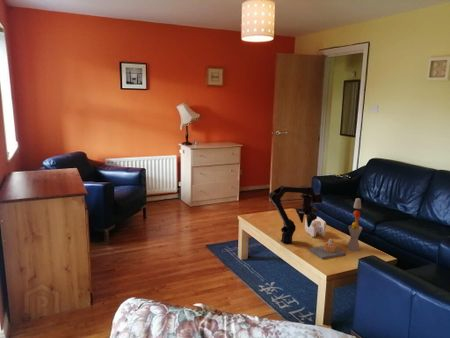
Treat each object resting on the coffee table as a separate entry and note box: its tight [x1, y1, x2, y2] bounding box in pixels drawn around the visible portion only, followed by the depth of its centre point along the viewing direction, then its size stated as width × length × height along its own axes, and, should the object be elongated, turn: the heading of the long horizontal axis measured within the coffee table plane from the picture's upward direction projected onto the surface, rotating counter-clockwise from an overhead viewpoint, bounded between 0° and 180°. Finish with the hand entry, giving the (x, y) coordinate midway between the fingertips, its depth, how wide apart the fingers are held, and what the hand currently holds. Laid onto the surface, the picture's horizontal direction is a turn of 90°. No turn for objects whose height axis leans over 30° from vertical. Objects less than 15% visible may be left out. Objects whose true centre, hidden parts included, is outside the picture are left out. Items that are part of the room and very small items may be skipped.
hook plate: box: [308, 238, 346, 260], centre depth 231 cm, size 18×14×9 cm
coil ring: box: [323, 241, 337, 252], centre depth 232 cm, size 7×7×4 cm
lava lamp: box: [346, 197, 363, 252], centre depth 236 cm, size 9×9×35 cm
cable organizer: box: [304, 216, 327, 238], centre depth 262 cm, size 15×11×12 cm
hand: (305, 224), depth 249 cm, fingers open, 9 cm apart
